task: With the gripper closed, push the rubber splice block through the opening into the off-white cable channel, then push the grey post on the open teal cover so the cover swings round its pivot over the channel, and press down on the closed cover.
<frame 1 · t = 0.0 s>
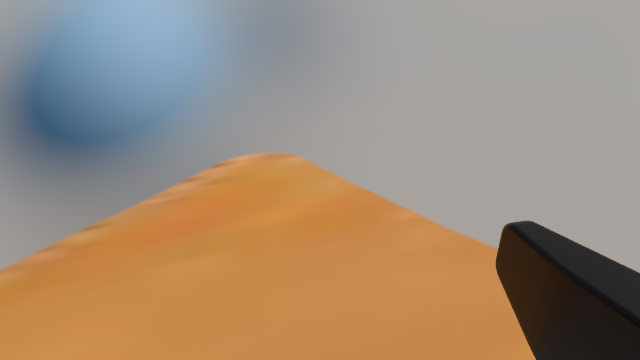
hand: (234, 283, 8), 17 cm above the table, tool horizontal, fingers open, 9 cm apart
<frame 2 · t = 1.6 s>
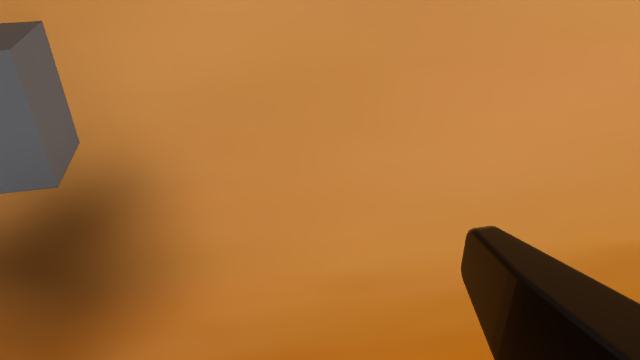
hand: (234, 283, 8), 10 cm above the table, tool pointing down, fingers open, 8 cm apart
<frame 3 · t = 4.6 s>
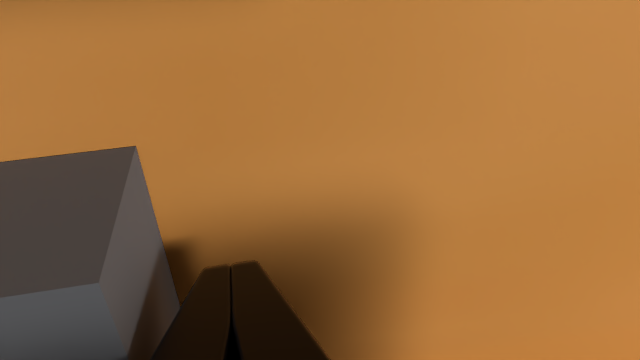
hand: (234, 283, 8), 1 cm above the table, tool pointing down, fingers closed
splice block: (43, 263, 8), on the table
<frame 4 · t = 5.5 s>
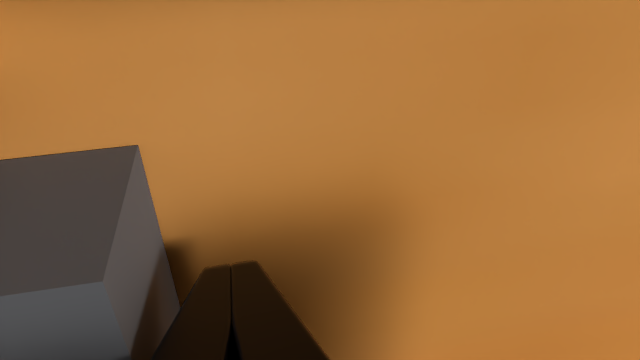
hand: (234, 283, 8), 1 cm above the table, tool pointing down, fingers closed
splice block: (43, 261, 8), on the table, touching gripper
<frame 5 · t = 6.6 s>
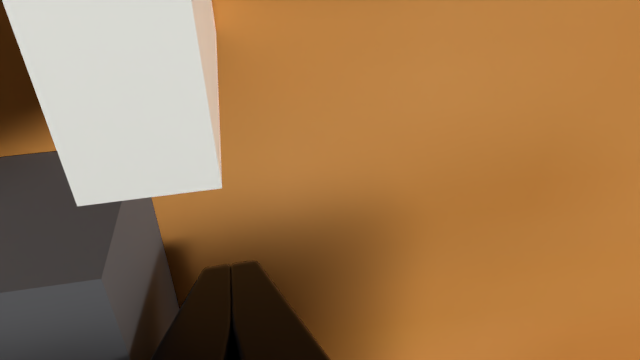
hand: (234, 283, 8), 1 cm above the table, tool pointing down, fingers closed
splice block: (41, 259, 8), on the table, touching gripper
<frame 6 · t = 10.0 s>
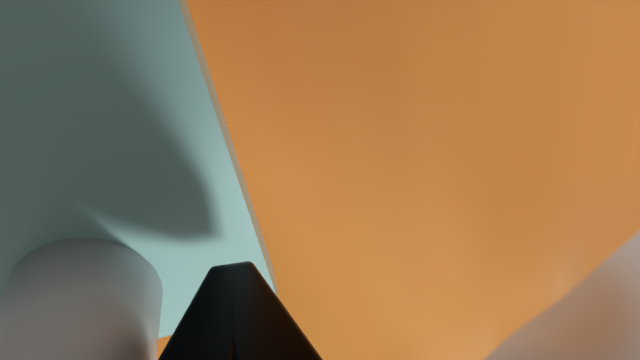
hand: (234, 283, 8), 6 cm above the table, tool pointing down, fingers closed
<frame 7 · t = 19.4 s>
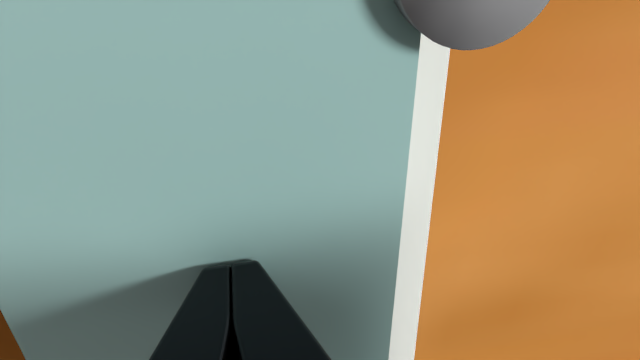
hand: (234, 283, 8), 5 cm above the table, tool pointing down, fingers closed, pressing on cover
channel: (248, 225, 14), on the table
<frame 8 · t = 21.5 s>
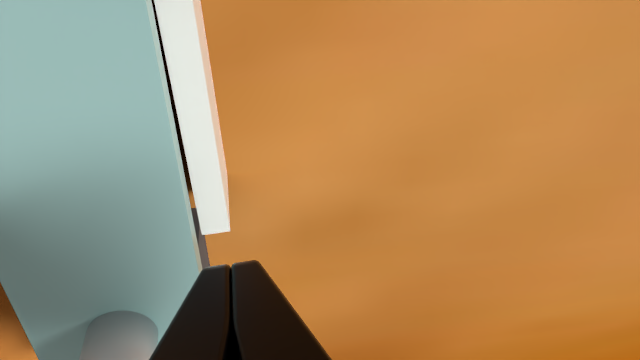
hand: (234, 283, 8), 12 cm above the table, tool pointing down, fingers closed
splice block: (161, 246, 23), on the table
cover: (96, 212, 14), point 6 cm above the table, hinge at -0.9°
channel: (130, 141, 19), on the table
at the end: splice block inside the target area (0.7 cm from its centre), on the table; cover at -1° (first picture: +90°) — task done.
